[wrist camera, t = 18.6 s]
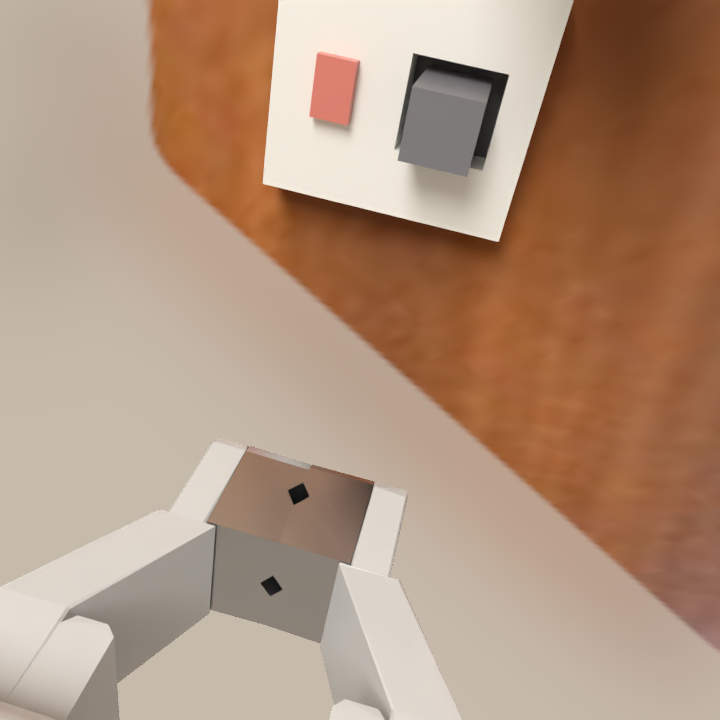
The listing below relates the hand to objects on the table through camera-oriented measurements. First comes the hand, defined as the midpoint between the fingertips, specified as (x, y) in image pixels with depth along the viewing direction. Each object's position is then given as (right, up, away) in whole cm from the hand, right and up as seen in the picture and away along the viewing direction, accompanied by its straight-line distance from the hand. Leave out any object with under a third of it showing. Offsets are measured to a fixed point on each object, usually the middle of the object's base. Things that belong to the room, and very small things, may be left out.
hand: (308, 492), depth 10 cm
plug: (+7, +18, +32) cm, 37 cm away
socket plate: (+4, +19, +32) cm, 37 cm away
